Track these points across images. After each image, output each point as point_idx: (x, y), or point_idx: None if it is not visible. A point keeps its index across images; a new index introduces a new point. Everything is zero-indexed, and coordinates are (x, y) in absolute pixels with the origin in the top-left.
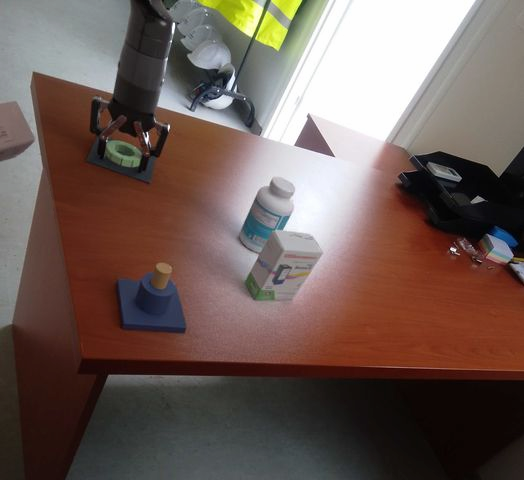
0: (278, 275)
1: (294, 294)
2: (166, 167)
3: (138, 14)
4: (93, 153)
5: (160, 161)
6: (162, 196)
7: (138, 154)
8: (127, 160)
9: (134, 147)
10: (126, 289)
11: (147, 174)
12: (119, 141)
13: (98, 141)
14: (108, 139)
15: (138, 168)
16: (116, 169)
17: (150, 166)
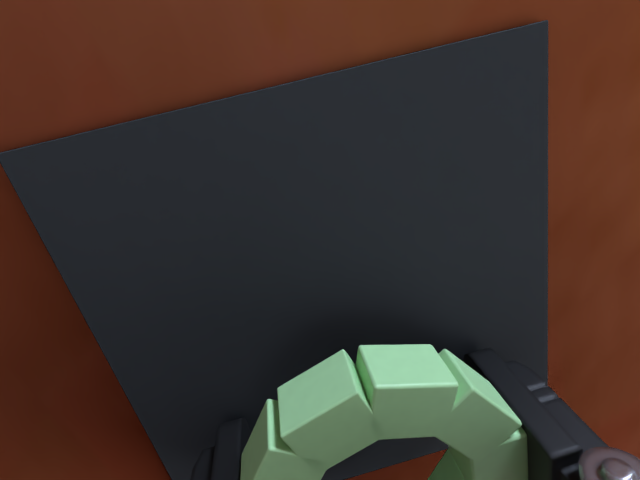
0: None
1: None
2: (632, 130)
3: None
4: (177, 440)
5: (583, 79)
6: (612, 446)
7: (501, 458)
8: None
9: (447, 400)
10: None
11: (521, 356)
12: (307, 437)
13: (97, 283)
14: (122, 170)
15: (459, 348)
16: (355, 460)
17: (525, 253)
